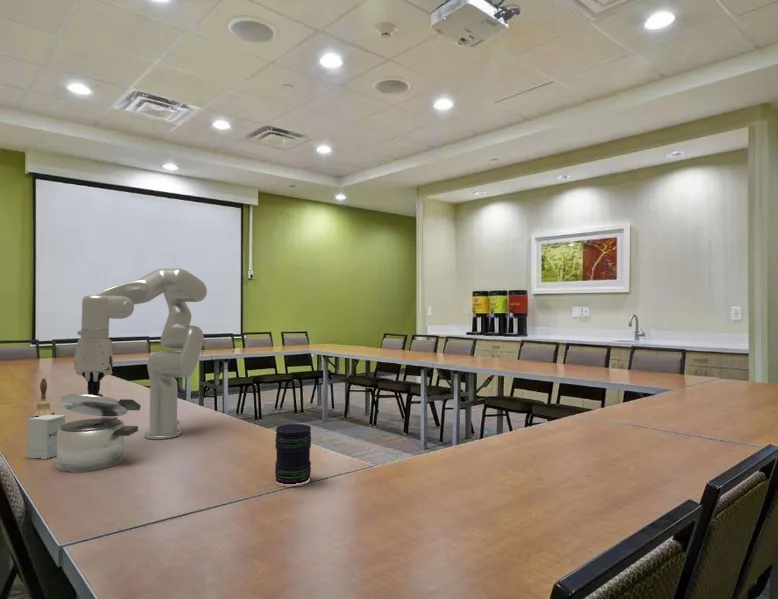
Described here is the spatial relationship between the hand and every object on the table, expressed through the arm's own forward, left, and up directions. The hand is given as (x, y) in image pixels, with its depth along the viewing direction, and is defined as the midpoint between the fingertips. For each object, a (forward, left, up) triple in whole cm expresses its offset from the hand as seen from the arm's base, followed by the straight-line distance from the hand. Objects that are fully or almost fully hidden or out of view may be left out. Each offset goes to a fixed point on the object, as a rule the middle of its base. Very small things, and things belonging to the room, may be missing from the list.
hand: (93, 393), depth 162 cm
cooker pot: (0, +2, -21) cm, 21 cm away
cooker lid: (0, +2, -4) cm, 5 cm away
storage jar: (+16, +66, -21) cm, 71 cm away
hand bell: (-67, -60, -22) cm, 93 cm away
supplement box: (-6, -18, -22) cm, 29 cm away
